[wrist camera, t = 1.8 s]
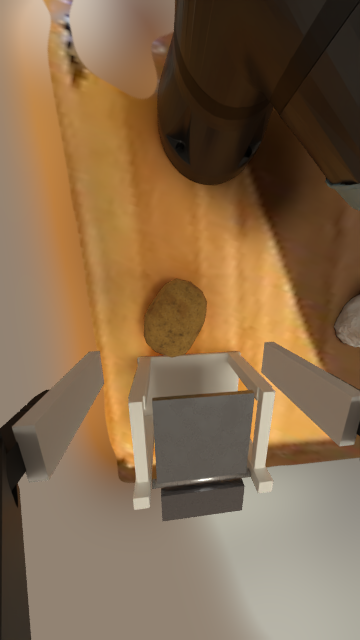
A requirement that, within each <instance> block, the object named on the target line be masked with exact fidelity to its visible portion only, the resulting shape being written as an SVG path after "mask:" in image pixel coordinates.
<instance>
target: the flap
mask: <svg viewBox="0 0 360 640" xmlns="http://www.w3.org/2000/svg"><path fill="white" fill-rule="evenodd" d="M254 395H255V393H254V392H253V390H246V391H233V392H220V393H207V394H194V395H181V396H168V397H155V398H152V408H153V423H154V439H155V455H156V470H157V479H153V480H152V489H156V488H161V501H162V518H163V521H168V520H175V519H183V518H190V517H197V516H204V515H211V514H218V513H225V512H232V511H239V510H242V503H243V495H244V484H243V481H242V479H241V478H245V477H251V472H250V469H249V468H247V461H248V451H249V442H250V433H251V423H252V414H253V404H254Z"/></svg>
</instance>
